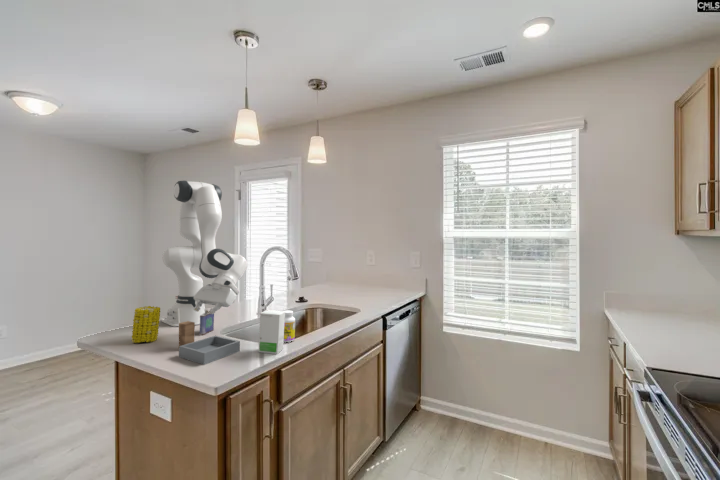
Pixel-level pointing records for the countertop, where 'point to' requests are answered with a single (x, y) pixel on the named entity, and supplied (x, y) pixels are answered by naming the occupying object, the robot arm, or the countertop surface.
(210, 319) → the flask
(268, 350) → the skincare box
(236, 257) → the robot arm
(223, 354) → the bin
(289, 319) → the supplement bottle
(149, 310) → the food
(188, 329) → the block
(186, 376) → the countertop surface
